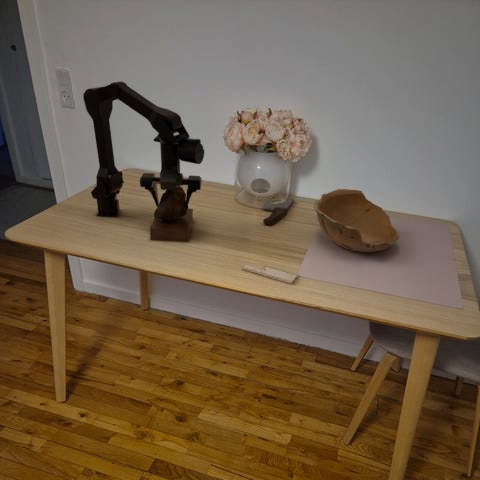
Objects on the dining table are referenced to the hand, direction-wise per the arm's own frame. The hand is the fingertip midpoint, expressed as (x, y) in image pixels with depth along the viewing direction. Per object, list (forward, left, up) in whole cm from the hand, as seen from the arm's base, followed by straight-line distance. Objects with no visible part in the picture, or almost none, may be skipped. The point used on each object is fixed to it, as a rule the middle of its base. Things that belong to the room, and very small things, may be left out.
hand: (172, 207), depth 142 cm
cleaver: (+36, +21, -8) cm, 42 cm away
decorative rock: (0, 0, -4) cm, 4 cm away
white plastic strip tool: (+31, -27, -8) cm, 42 cm away
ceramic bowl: (+60, -2, -8) cm, 61 cm away
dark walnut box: (0, 0, -8) cm, 8 cm away
